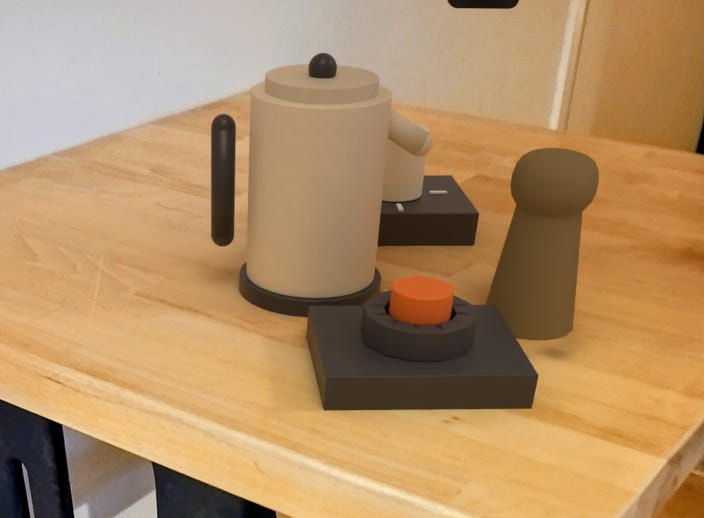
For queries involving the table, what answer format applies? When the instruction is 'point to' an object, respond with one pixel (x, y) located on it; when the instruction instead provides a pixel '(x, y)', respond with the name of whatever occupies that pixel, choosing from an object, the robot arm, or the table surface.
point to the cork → (543, 243)
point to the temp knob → (403, 173)
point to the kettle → (310, 184)
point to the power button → (421, 300)
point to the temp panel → (430, 216)
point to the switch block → (417, 359)
